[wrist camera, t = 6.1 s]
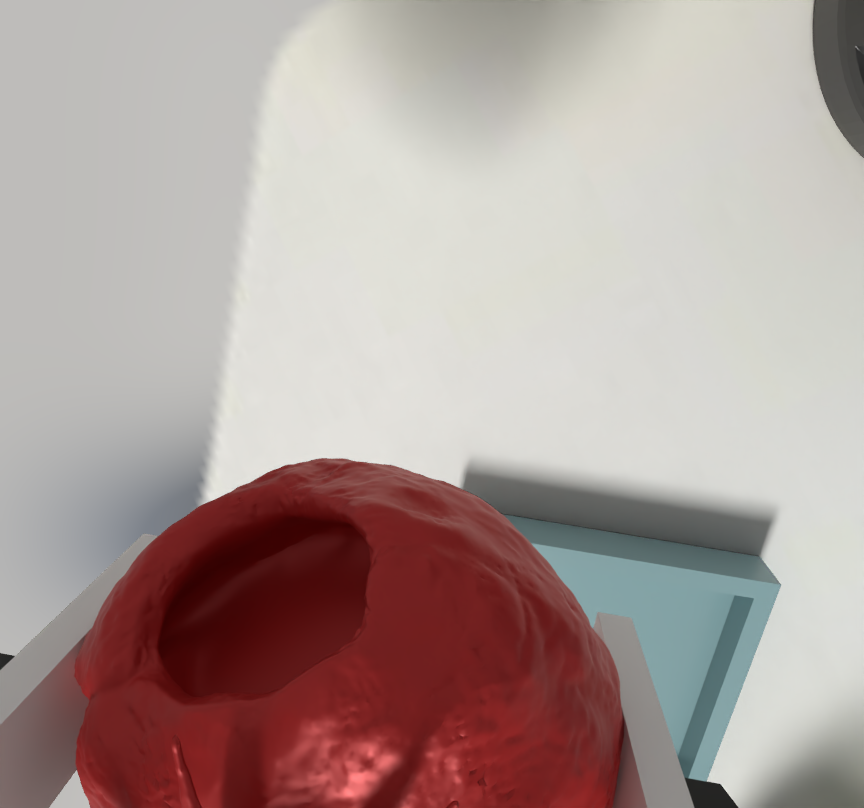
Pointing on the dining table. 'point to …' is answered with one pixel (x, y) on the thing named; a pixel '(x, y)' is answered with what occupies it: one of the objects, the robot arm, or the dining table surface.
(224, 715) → the pomegranate
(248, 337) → the dining table surface
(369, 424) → the dining table surface
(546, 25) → the dining table surface
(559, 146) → the dining table surface
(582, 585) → the dish
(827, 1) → the robot arm
